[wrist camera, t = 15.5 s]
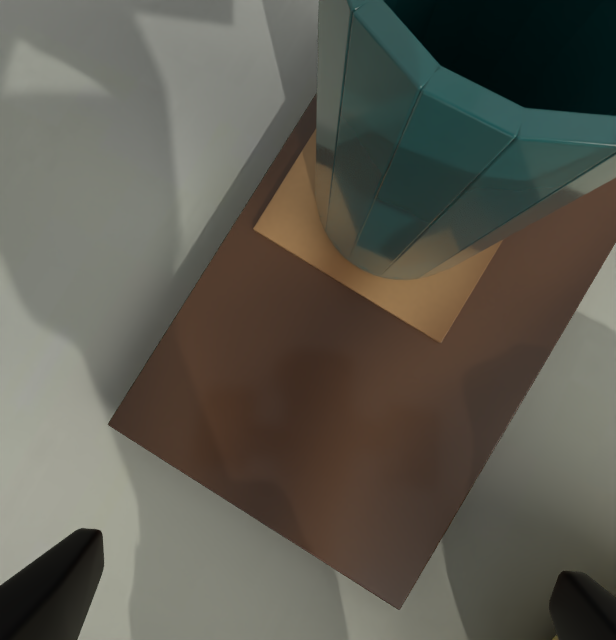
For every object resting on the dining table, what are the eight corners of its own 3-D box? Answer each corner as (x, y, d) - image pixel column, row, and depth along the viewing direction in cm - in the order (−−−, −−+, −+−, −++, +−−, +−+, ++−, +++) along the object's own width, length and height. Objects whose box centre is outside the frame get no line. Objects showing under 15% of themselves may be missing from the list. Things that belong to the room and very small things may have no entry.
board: (621, 202, 20) (652, 188, 18) (393, 590, 19) (401, 615, 18) (356, 46, 21) (360, 18, 19) (122, 418, 20) (103, 426, 18)
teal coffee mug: (482, 288, 18) (847, 167, 6) (308, 272, 18) (300, 119, 6) (500, 46, 19) (869, -539, 6) (331, 32, 19) (367, -572, 6)
